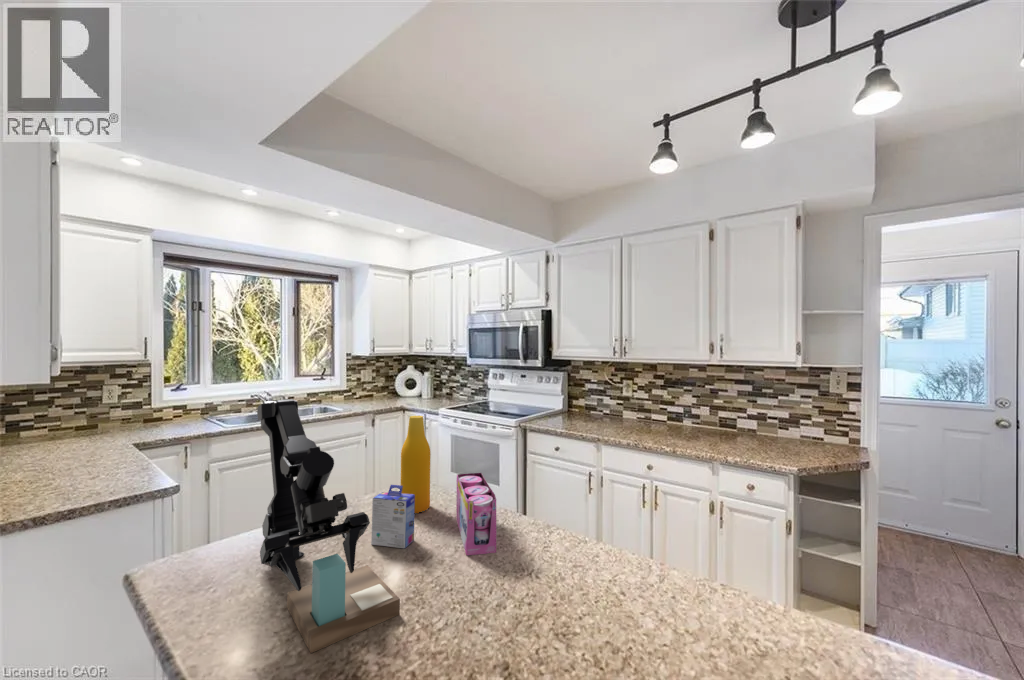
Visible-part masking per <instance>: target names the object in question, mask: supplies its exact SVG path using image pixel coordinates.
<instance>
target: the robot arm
mask: <svg viewBox="0 0 1024 680" xmlns="http://www.w3.org/2000/svg"><path fill="white" fill-rule="evenodd" d="M256 412H257V413H256V414H257V415H256V416H257V420H258V421H260V427H261V430H262V431H263V432H264V433H265V434H266V435H267V436H268V438H269V449H270V450H269V451H270V452H269V453H270V461H271V462H270V463H271V473H272V474H271V475H272V487H273V495H272V499H271V500H270V503H269V504H268V506H267V513H266V514H265V516H264V519H263V522H262V536H263V537H264V540H263V542H262V544H261V547H260V550H259V557H260V558H259V559H260V563H261V565H266V564H268V565H269V566H270V567H274V566H275V567H277V568H278V569H279V570H280V571H281V572H282V573H283V574H284V575H285V576H286V577H287V579H288V580H289V581H290V583H291V584H292V585H293V586H294V588H295V589H297V591H300V590H301V587H302V581H301V577H300V574H299V570H298V566H297V564H296V560H298V559H300V558H302V557H303V556H305V552H302V551H300V547H301V546H305V545H308V544H312V543H316V542H318V541H323V540H327V539H329V538H332V537H333V538H334V537H336V536H339V535H341V537H342V538H343V539H344V540H343V542H342V547H343V550H344V555H345V560H346V564H347V568H348V570H349V571H350V573H353V571H354V570H355V562H356V561H355V560H356V551H357V545H358V544H357V543H358V541H359V539H360V537H361V536H363V535H364V534H365V531H366V530H367V529H368V527H369V525H370V523H371V522H370V518H369V515H368V514H367V513H365V512H364V511H362V512H357V513H354V514H350V515H346V517H345V519H344V521H343V523H340V524H335V525H332V524H334V523H335V522H336V520H337V519H336V517H339V512H343V511H345V510H347V509H348V502H347V501H348V500H347V498H346V494H345V492H342V493H337V494H335V495H333V496H332V499H329V498H328V497H326V496H325V491H324V487H325V486H326V485H327V482H328V480H329V478H330V476H331V473H332V472H333V471H332V470H333V468H334V467H335V459H334V458H333V457H332V455H330V454H329V453H328V452H326V451H323V450H321V447H320V446H317V444H316V442H315V441H313V440H312V439H310V438H308V437H307V435H306V433H305V429H304V426H303V423H302V420H301V418H300V415H299V403H298V401H297V400H296V399H293V398H290V399H289V398H287V399H276V400H264V401H263V402H262V404H259V405H258V407H257V411H256ZM294 478H295V479H294ZM349 571H348V572H349Z"/></svg>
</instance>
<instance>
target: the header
mask: <svg viewBox="0 0 1024 680" xmlns="http://www.w3.org/2000/svg"><path fill="white" fill-rule="evenodd" d="M286 595H287V596H286V597H287V599H286V603H287V604H286V608H287V610H288V612H289V614H290V616H291V618H292V620H293V622H294V624H295V626H296V628H297V630H298V631H299V633H300V635H301V637H302V639H303V641H304V644H305V645H306V646H307V648H308V651H309V653H310V654H312V653H315V652H317V651H320V650H322V649H324V648H326V647H329V646H331V645H333V644H335V643H337V642H340V641H342V640H344V639H347V638H349V637H351V636H354V635H356V634H358V633H360V632H362V631H363V632H364V631H366V630H367V629H369V628H372V627H374V626H377V625H379V624H381V623H383V622H386V621H388V620H390V619H392V618H395V617H397V616H399V615H400V614H401V610H400V609H401V605H400V604H401V598H400V597H399V596H398V595H397V594H396V593H395V592H394V591H393V590H392V589H391V588H390V587H389V586H388V585H387V583H385V582H384V581H383V580H382V579H381V578H380V577H379V576H378V574H377V573H375V572H374V570H373V569H372V568H371V567H370V566H369V565H364V566H360V567H358V568H354V571H353V573H350V571H345V616H344V617H341V618H339V619H336V620H334V621H331V622H329V623H326V624H324V625H321V626H319V627H318V626H317V625H316V623H315V621H314V620H313V618H312V583H310V584H308V585H307V584H306V585H305V586H301V590H300V591H297V589H296V588H295V589H293V590H291V591H287V594H286Z"/></svg>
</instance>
